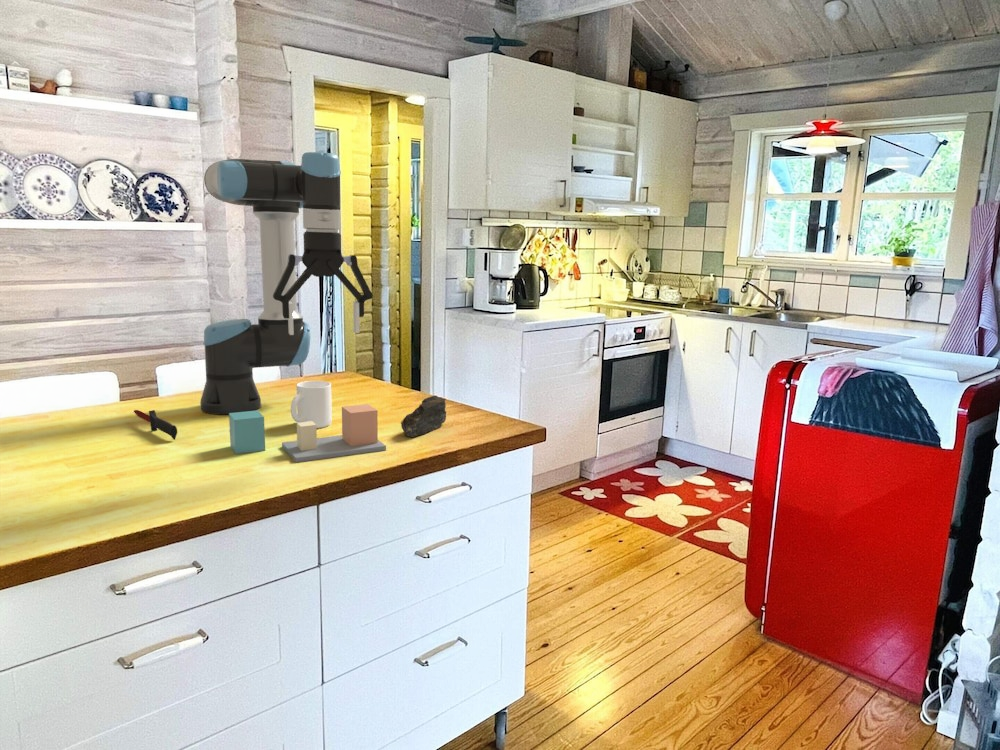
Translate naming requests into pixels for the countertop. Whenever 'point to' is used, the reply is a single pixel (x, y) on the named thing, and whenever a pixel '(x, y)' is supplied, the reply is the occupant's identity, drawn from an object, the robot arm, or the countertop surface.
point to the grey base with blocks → (354, 438)
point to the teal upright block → (247, 431)
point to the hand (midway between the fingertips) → (324, 333)
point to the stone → (425, 417)
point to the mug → (313, 403)
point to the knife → (158, 423)
